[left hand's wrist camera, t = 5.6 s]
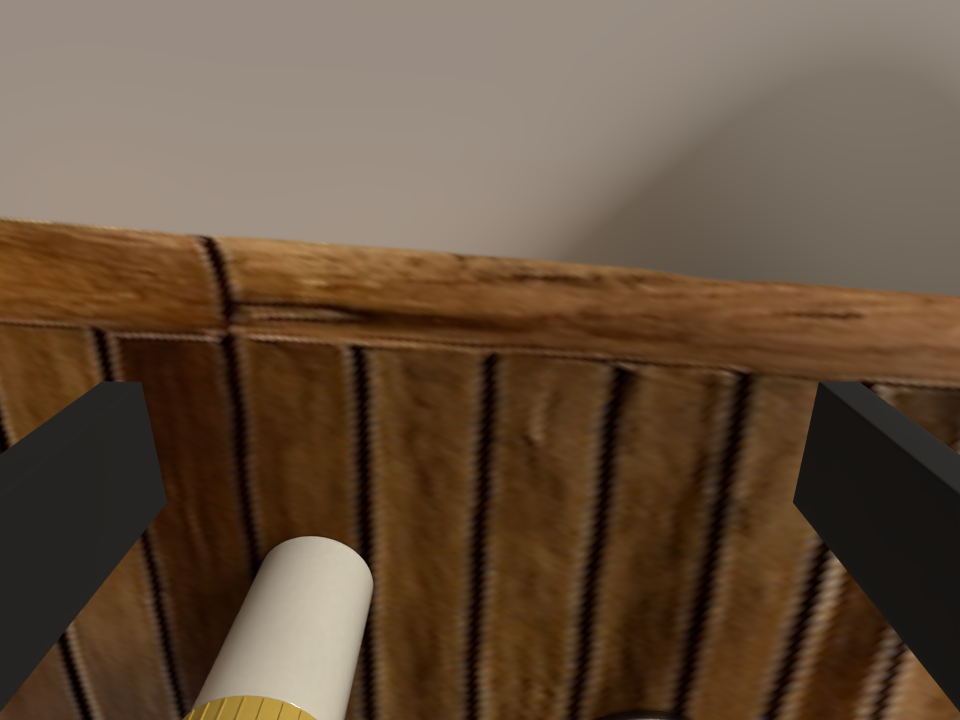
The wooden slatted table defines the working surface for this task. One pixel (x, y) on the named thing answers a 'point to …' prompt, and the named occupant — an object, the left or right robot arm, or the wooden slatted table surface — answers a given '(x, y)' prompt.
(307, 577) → the jar
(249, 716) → the lid
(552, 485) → the wooden slatted table surface
